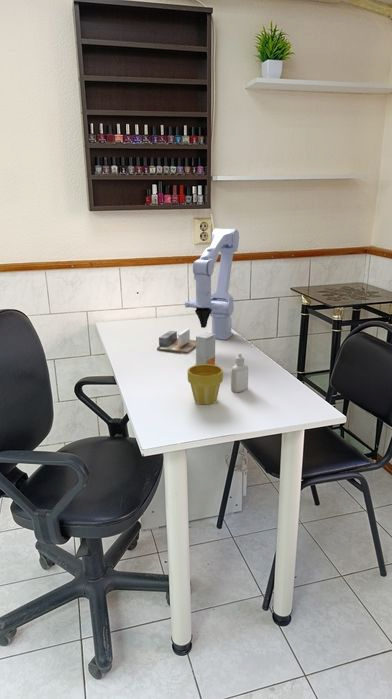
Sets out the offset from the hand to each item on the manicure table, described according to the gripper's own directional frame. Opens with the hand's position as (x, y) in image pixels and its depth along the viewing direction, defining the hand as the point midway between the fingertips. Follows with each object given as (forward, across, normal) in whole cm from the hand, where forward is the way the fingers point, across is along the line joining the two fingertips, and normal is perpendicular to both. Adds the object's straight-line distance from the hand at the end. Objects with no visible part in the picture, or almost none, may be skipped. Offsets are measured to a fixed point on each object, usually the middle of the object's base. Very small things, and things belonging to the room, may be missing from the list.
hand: (203, 327), depth 188 cm
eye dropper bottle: (+9, +25, -32) cm, 42 cm away
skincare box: (+9, +8, -18) cm, 22 cm away
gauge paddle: (+8, -8, -2) cm, 11 cm away
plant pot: (+9, +18, -43) cm, 48 cm away
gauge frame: (+9, -10, 0) cm, 13 cm away
